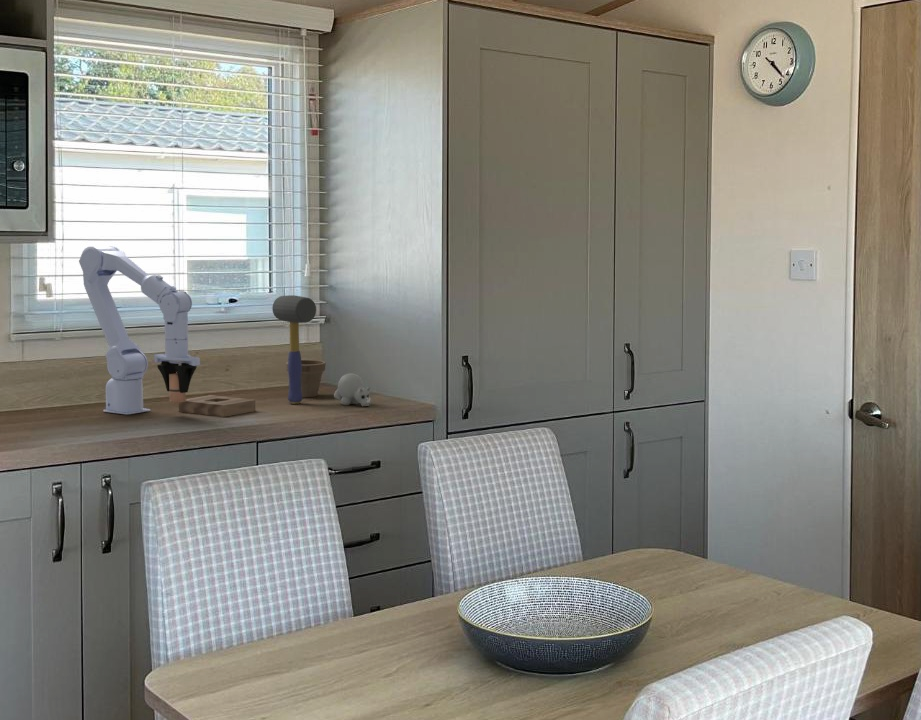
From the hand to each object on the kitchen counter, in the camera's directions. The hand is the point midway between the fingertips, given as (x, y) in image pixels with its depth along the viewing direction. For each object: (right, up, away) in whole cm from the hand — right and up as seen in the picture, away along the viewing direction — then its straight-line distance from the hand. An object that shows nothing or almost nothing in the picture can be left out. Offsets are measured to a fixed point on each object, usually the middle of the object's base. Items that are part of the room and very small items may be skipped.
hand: (177, 391), depth 291 cm
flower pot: (+28, -3, +37) cm, 47 cm away
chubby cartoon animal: (+44, -5, +20) cm, 48 cm away
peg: (0, -2, 0) cm, 2 cm away
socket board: (+8, -5, +8) cm, 13 cm away
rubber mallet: (+27, -4, +23) cm, 35 cm away
